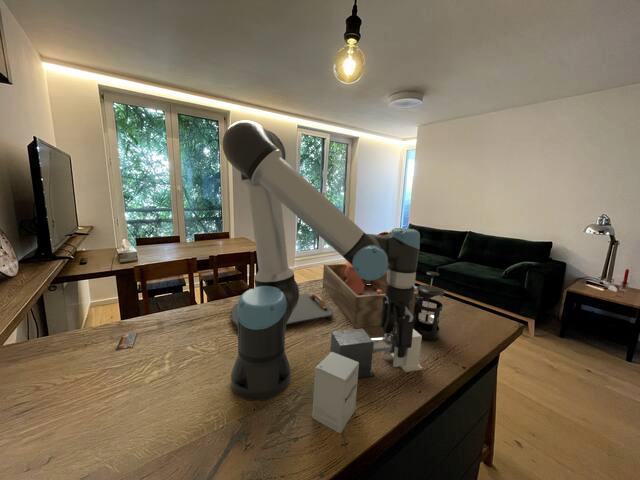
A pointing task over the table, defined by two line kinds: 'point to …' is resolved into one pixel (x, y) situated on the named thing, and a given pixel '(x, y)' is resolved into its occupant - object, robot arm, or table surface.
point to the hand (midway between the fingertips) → (392, 359)
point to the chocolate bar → (127, 341)
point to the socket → (412, 354)
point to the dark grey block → (354, 349)
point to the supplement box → (335, 391)
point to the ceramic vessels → (355, 280)
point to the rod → (385, 343)
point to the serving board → (301, 309)
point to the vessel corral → (357, 297)
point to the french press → (427, 319)
